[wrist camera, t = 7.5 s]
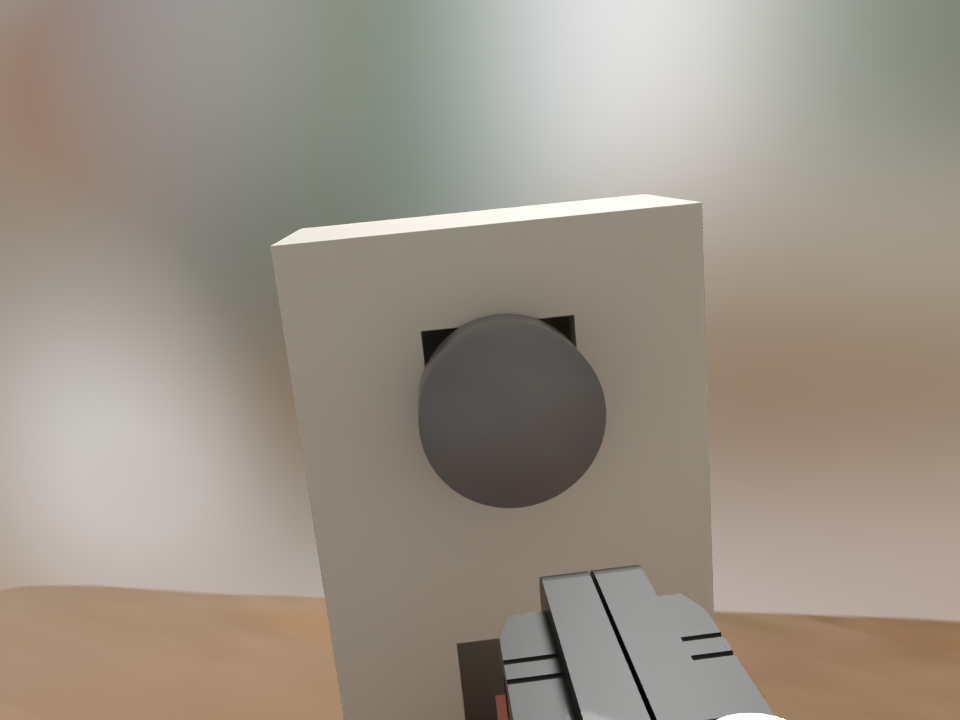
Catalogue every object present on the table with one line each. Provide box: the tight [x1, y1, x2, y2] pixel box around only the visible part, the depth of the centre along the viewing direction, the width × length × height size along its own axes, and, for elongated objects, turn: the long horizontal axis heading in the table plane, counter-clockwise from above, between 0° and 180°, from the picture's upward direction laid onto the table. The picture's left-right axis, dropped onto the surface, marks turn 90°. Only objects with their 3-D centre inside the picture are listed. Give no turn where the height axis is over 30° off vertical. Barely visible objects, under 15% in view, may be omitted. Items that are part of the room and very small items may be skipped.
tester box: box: [271, 194, 714, 720], centre depth 28 cm, size 6×12×22 cm, turn 94°
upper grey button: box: [418, 314, 606, 508], centre depth 25 cm, size 7×5×5 cm
